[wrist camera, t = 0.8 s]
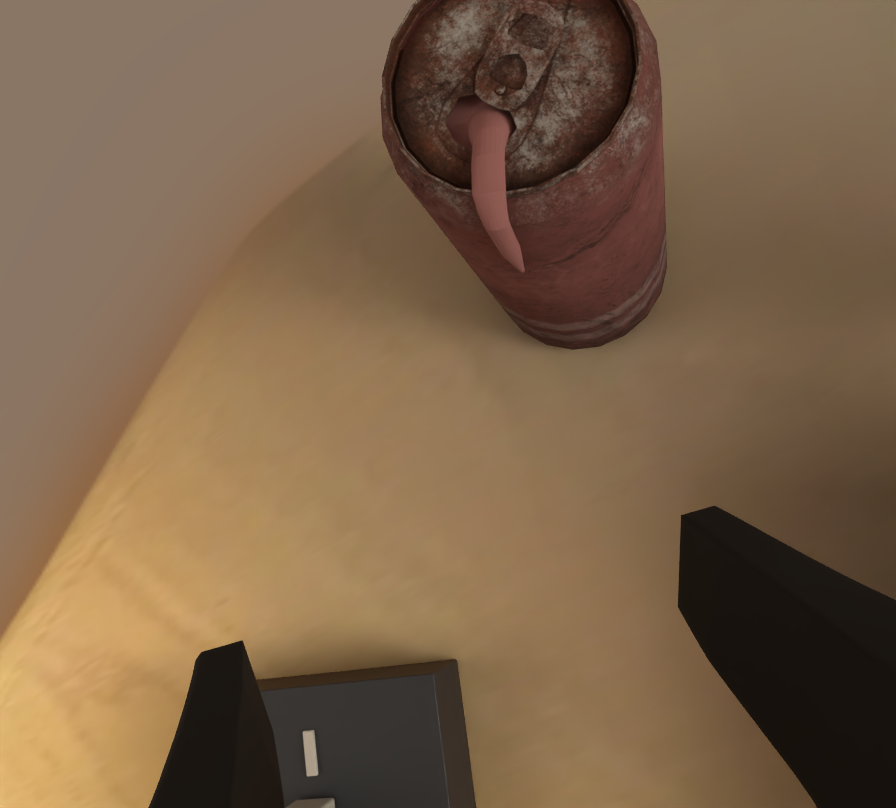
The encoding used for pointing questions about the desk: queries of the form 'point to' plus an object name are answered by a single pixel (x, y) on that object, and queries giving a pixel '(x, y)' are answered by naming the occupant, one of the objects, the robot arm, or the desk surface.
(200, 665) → the robot arm
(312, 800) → the grey block
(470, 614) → the desk surface
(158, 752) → the desk surface
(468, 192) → the can
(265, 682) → the control panel
